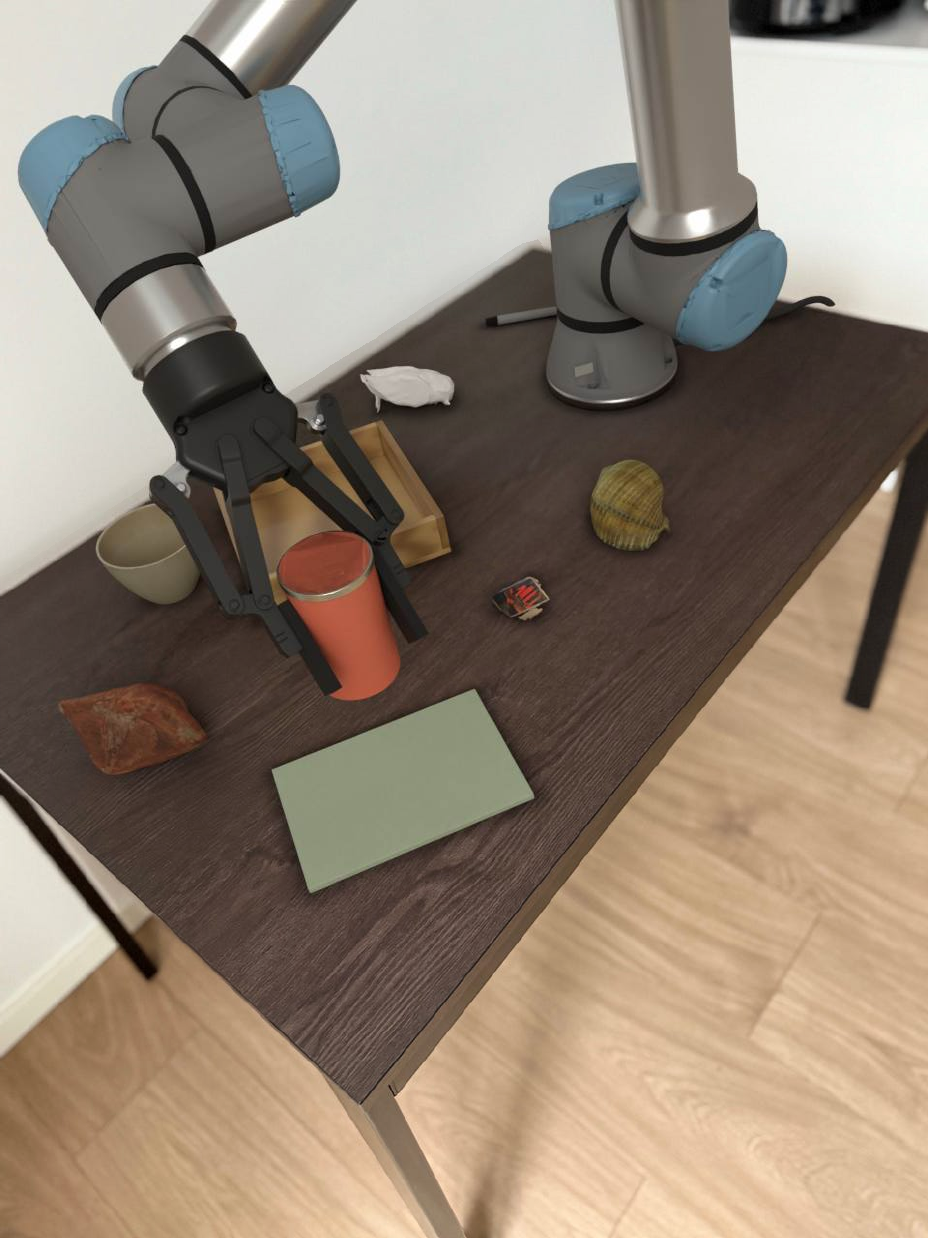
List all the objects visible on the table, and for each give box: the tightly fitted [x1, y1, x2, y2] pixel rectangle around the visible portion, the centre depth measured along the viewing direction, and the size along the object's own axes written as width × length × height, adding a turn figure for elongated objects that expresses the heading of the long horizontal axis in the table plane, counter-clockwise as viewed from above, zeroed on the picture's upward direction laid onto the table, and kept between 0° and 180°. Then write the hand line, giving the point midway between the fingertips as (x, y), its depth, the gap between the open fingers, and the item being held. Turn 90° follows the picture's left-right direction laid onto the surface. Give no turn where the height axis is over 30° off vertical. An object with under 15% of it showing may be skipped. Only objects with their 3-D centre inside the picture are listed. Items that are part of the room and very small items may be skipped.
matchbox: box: [490, 576, 550, 621], centre depth 88 cm, size 5×5×1 cm
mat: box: [271, 688, 535, 894], centre depth 75 cm, size 18×12×1 cm, turn 112°
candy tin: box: [276, 530, 401, 701], centre depth 63 cm, size 6×6×10 cm
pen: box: [485, 306, 557, 327], centre depth 125 cm, size 1×16×1 cm, turn 94°
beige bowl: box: [95, 503, 201, 606], centre depth 94 cm, size 10×10×7 cm
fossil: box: [57, 682, 209, 776], centre depth 79 cm, size 13×8×10 cm
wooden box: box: [212, 419, 452, 605], centre depth 98 cm, size 20×20×5 cm
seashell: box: [589, 458, 671, 552], centre depth 92 cm, size 10×7×8 cm
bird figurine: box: [359, 365, 455, 413], centre depth 113 cm, size 5×7×10 cm
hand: (376, 664), depth 62 cm, fingers closed on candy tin, 6 cm apart
